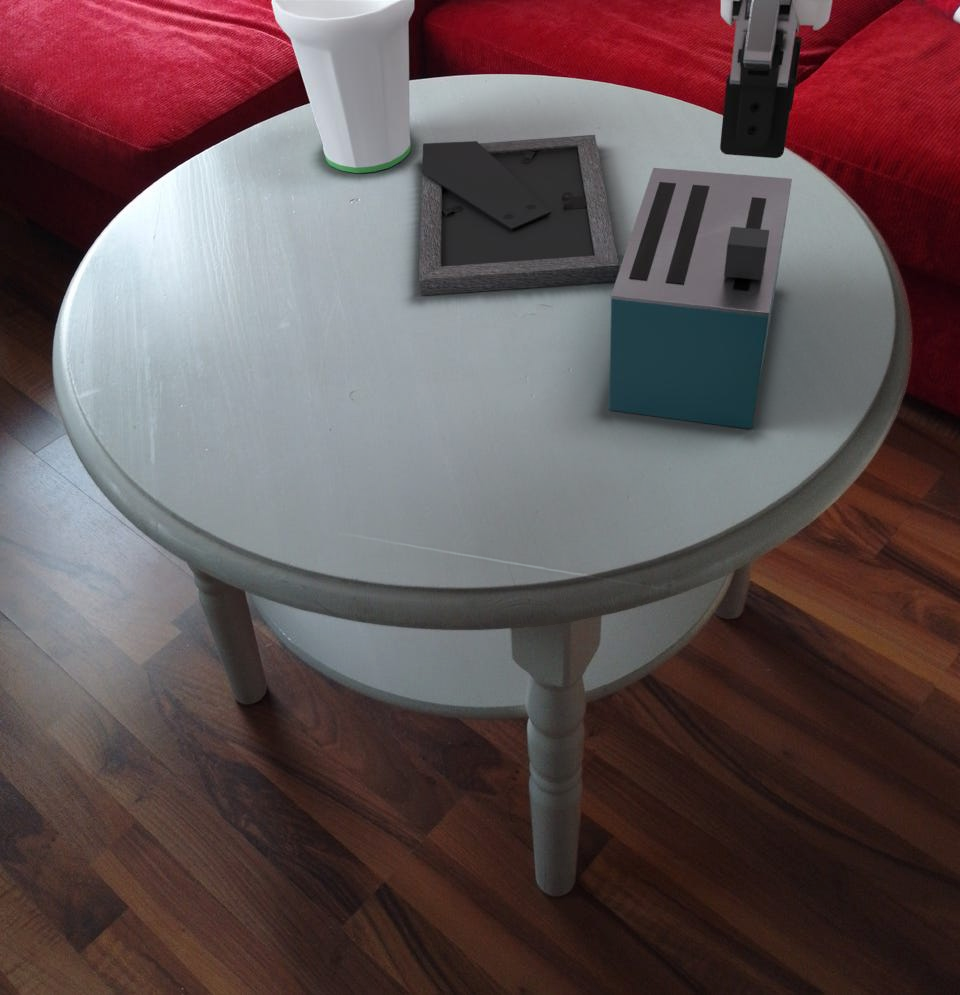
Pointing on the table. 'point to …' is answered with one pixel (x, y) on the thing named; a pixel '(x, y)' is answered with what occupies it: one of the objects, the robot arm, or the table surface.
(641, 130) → the table surface
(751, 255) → the block
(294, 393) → the table surface
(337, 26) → the cup
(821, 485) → the table surface
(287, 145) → the table surface
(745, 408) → the toaster
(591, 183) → the picture frame
